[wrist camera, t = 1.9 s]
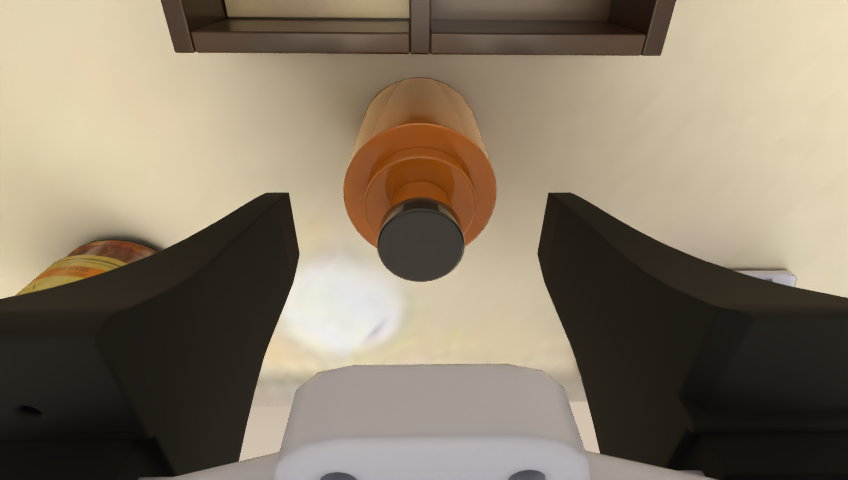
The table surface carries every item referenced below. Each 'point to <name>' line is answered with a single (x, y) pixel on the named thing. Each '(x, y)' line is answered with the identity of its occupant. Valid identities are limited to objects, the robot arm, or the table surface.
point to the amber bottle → (419, 179)
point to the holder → (420, 26)
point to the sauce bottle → (88, 263)
